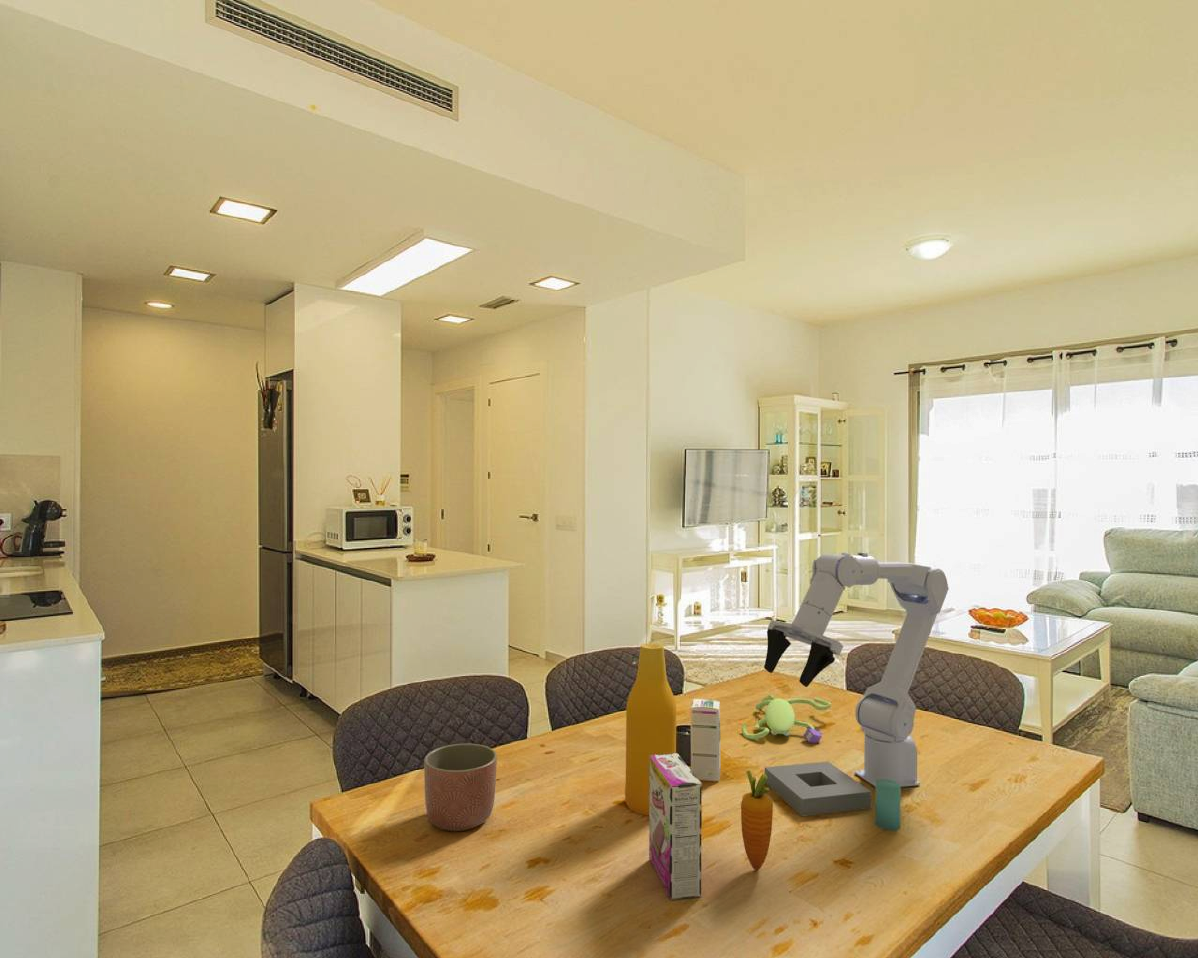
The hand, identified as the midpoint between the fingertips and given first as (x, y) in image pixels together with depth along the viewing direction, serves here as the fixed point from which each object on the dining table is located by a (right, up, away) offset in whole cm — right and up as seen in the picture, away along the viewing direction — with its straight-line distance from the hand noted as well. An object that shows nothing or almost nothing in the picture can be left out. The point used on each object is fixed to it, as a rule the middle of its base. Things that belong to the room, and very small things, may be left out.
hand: (785, 677), depth 124 cm
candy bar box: (-22, -24, -22) cm, 39 cm away
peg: (+17, -24, -5) cm, 30 cm away
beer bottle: (-24, -24, +2) cm, 34 cm away
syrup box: (-12, -24, +15) cm, 31 cm away
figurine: (+12, -25, +44) cm, 53 cm away
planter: (-58, -24, -5) cm, 62 cm away
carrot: (-10, -24, -19) cm, 32 cm away
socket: (+8, -24, +7) cm, 26 cm away
